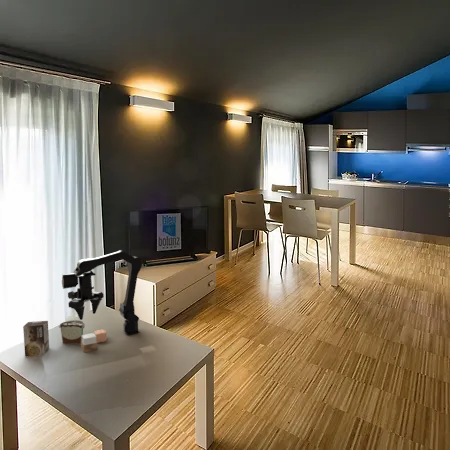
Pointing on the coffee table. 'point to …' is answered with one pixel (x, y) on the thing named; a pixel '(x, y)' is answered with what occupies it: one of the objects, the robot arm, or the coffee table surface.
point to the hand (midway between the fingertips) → (87, 316)
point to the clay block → (100, 335)
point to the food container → (72, 331)
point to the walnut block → (88, 347)
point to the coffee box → (36, 338)
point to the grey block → (88, 339)
